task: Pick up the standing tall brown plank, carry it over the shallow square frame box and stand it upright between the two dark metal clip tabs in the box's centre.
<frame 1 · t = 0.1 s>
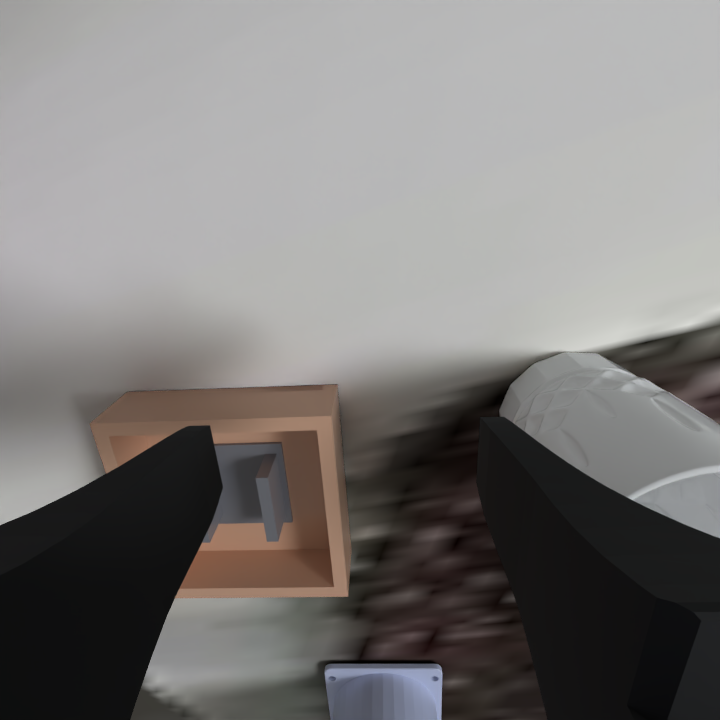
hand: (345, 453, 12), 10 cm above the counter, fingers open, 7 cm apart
white cup: (563, 409, 22), on the counter
shallow square frame box: (247, 476, 24), on the counter
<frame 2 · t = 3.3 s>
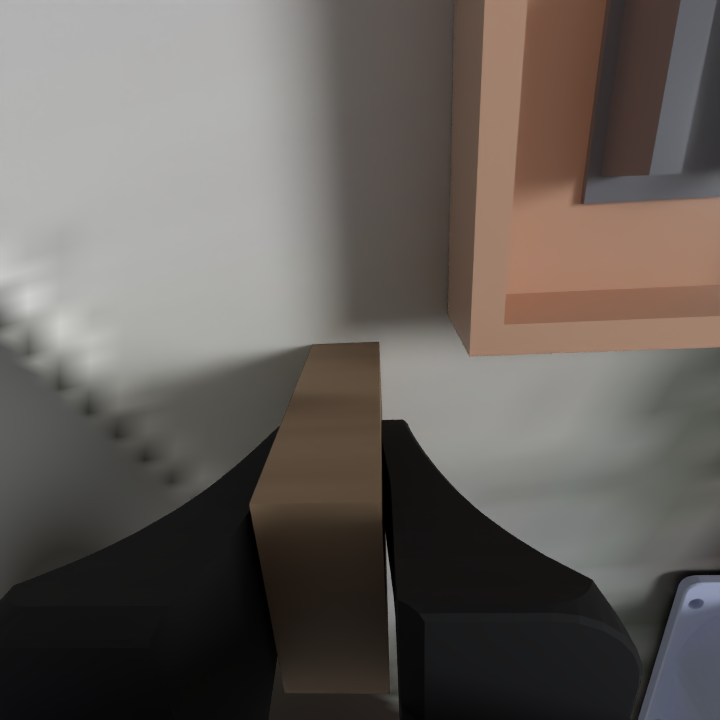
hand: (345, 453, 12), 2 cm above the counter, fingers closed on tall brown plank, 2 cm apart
tall brown plank: (350, 409, 14), on the counter, touching gripper
shallow square frame box: (689, 79, 10), on the counter
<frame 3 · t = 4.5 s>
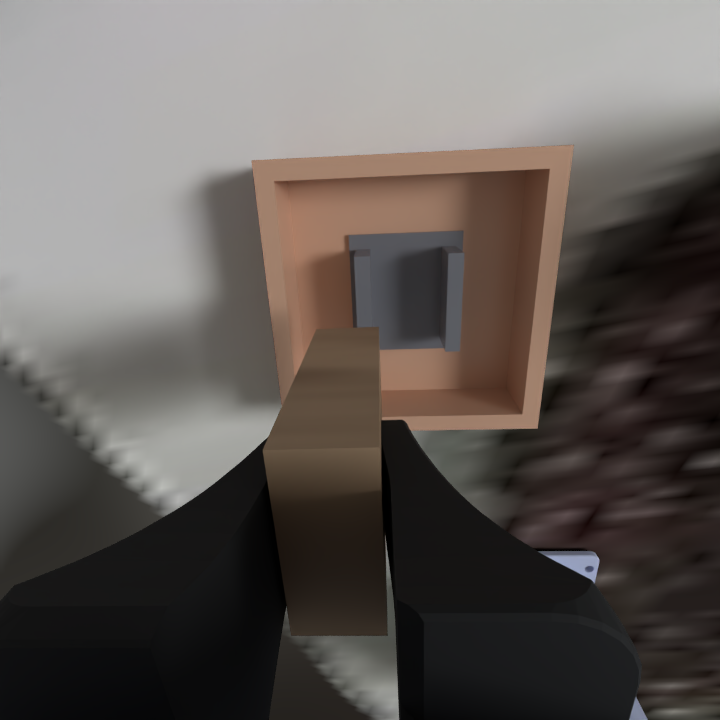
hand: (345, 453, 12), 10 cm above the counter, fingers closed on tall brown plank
tall brown plank: (351, 391, 15), point 7 cm above the counter, touching gripper
shallow square frame box: (404, 289, 20), on the counter
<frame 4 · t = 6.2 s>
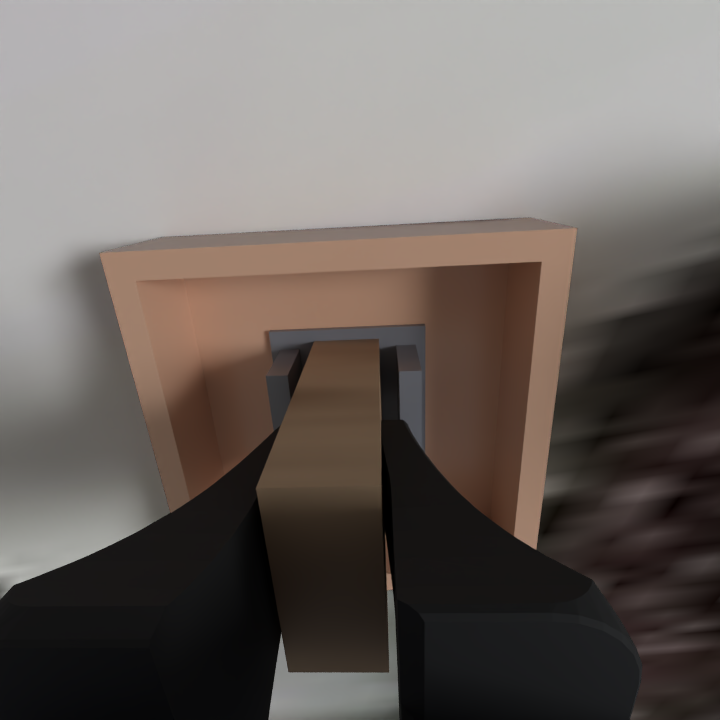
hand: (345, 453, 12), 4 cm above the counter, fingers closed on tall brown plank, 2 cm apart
tall brown plank: (351, 404, 14), point 1 cm above the counter, touching gripper, shallow square frame box
shallow square frame box: (352, 393, 15), on the counter
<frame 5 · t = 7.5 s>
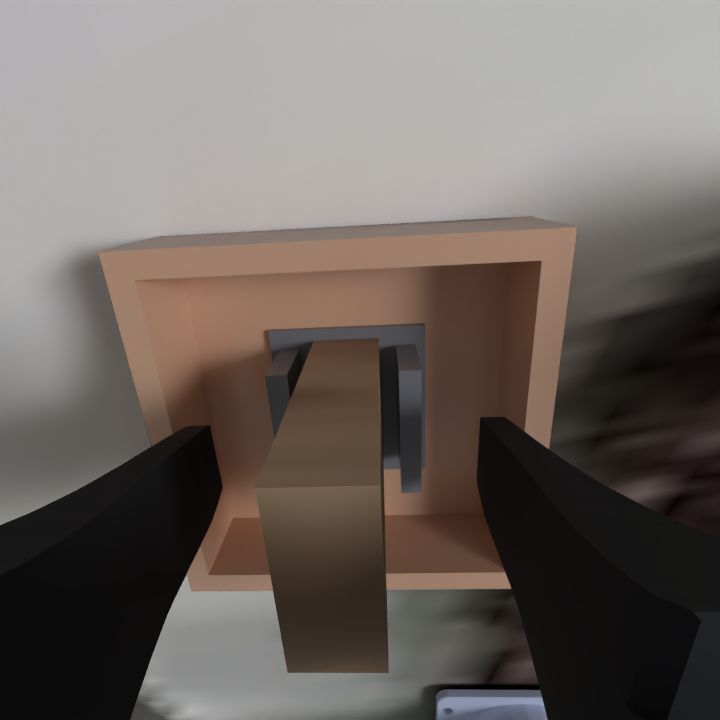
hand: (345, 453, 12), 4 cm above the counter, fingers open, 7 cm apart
tall brown plank: (350, 404, 14), point 1 cm above the counter, touching shallow square frame box
shallow square frame box: (352, 393, 15), on the counter
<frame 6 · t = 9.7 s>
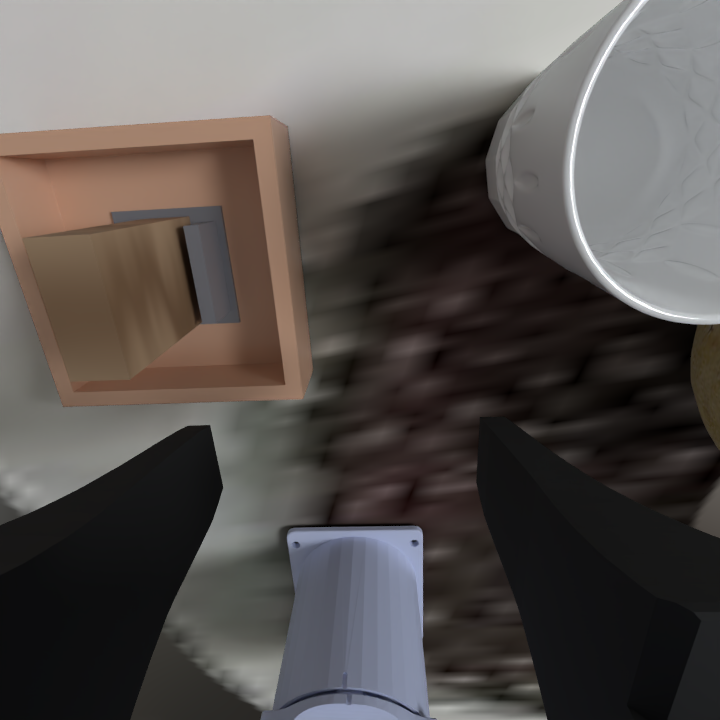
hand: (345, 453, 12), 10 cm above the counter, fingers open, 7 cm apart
tall brown plank: (177, 269, 20), point 1 cm above the counter, touching shallow square frame box
white cup: (563, 162, 18), on the counter
shallow square frame box: (185, 266, 20), on the counter
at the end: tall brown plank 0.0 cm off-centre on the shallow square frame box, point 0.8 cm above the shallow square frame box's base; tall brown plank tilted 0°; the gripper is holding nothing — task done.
